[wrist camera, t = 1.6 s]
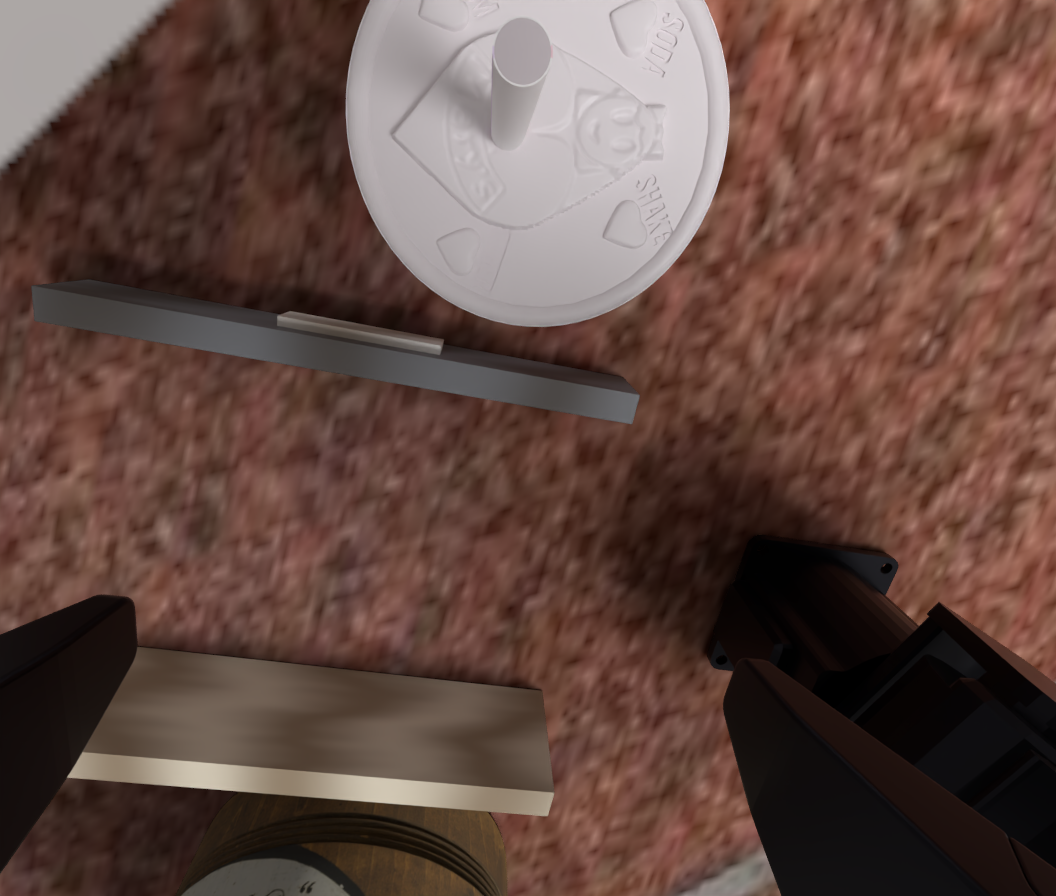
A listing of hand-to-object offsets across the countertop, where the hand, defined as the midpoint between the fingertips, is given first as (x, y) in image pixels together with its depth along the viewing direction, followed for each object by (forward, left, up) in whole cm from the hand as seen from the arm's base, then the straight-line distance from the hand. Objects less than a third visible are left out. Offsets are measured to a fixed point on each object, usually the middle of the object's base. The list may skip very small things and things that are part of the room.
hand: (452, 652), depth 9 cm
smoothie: (0, -8, -13) cm, 15 cm away
